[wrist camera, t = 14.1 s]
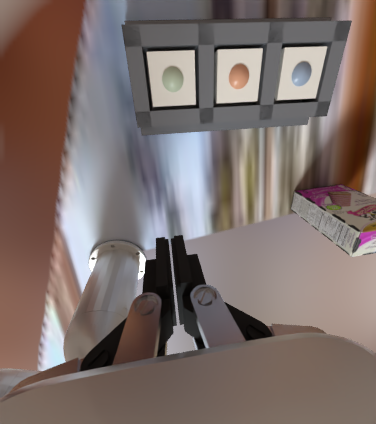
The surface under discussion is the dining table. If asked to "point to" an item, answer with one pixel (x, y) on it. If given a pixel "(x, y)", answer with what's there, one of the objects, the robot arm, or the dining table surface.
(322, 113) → the grey button panel
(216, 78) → the key terracotta
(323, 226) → the candy bar box
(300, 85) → the key slate
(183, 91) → the key sage
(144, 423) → the robot arm
